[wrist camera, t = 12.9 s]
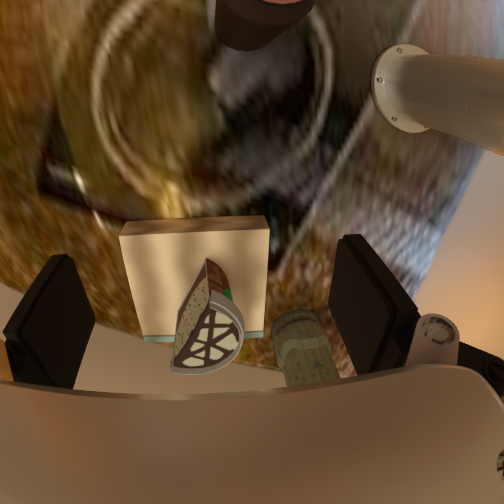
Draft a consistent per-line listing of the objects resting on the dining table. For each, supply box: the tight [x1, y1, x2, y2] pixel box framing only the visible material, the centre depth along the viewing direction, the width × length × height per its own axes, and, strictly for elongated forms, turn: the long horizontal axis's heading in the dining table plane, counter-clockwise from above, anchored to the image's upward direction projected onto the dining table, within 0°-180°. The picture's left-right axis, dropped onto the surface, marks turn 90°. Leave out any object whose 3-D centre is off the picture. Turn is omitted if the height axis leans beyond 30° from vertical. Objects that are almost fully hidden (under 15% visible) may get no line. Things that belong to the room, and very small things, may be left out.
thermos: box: [271, 310, 341, 387], centre depth 36 cm, size 9×12×35 cm
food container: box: [171, 258, 245, 375], centre depth 35 cm, size 12×6×10 cm, turn 150°
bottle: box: [214, 0, 316, 51], centre depth 18 cm, size 7×7×20 cm
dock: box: [119, 215, 270, 342], centre depth 41 cm, size 18×18×4 cm
